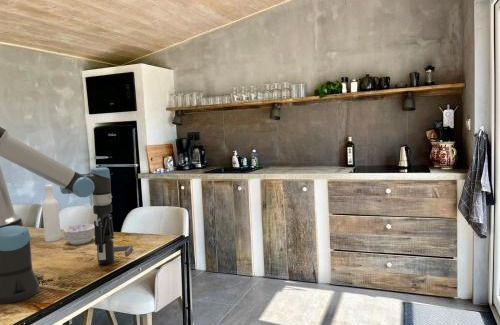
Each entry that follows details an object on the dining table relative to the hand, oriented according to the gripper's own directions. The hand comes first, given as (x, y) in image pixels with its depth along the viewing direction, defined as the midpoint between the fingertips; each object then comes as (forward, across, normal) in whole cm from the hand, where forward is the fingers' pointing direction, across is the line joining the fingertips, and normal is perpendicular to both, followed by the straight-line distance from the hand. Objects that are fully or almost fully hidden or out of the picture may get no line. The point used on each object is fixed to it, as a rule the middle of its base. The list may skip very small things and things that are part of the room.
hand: (105, 256), depth 166 cm
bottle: (+3, +41, +46) cm, 62 cm away
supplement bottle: (+2, 0, 0) cm, 2 cm away
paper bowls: (+3, +35, +28) cm, 45 cm away
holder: (+3, +17, +4) cm, 18 cm away
